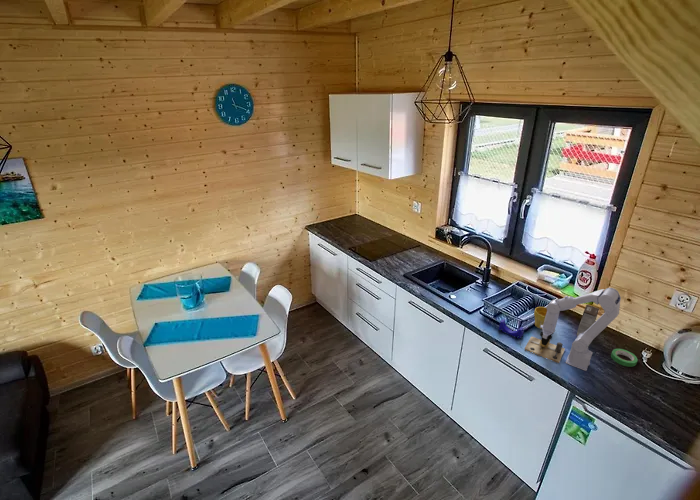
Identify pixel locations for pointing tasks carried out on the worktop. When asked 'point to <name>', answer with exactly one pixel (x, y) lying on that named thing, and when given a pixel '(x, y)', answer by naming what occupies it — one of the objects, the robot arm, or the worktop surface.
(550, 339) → the block
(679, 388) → the worktop surface
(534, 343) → the tan base plate
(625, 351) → the tape roll
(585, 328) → the coffee box
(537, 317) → the plant pot
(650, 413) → the worktop surface
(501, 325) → the cable clip
